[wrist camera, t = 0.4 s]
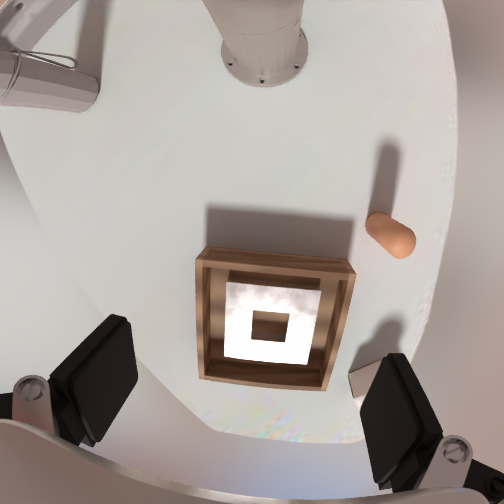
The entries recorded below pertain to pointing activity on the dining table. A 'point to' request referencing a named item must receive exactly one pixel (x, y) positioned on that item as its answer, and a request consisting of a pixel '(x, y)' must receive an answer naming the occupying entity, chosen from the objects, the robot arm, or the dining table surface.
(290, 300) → the bore plate
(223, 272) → the open box
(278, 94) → the dining table surface
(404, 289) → the dining table surface
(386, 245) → the peg
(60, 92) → the water bottle
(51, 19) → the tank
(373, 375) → the medicine bottle
